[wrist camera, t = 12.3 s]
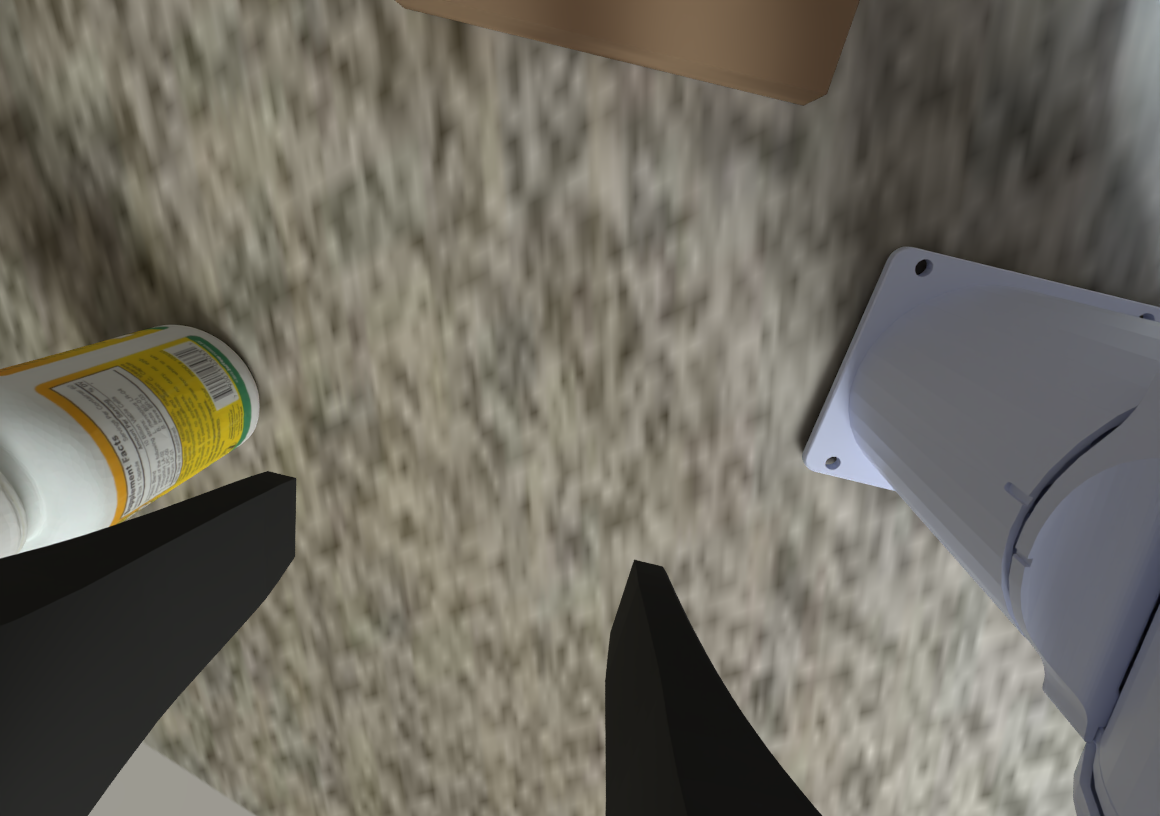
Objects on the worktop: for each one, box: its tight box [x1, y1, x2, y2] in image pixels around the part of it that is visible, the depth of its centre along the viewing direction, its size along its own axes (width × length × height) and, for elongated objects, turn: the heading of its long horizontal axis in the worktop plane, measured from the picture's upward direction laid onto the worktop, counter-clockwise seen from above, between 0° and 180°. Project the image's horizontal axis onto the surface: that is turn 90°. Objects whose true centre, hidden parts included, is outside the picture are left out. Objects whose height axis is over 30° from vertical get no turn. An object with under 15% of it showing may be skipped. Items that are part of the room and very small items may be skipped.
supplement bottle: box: [0, 325, 260, 558], centre depth 17 cm, size 5×5×10 cm
